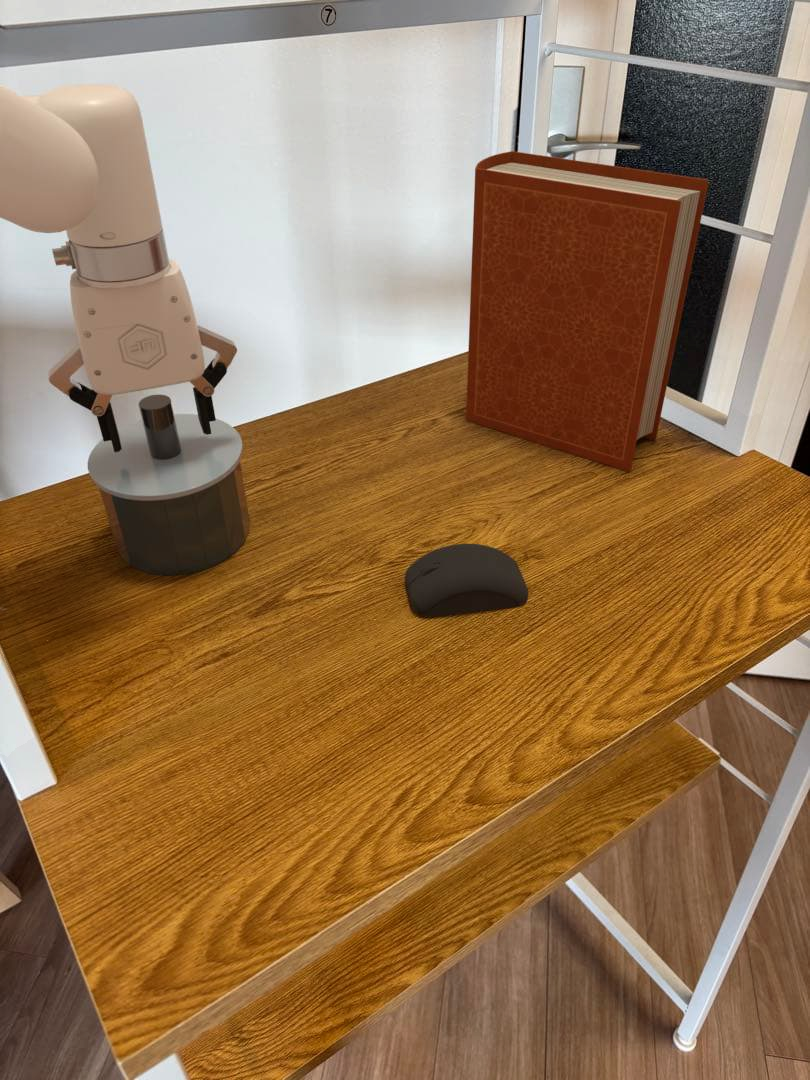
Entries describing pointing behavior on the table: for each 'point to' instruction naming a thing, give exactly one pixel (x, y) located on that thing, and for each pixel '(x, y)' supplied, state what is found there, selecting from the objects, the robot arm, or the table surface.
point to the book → (577, 299)
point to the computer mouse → (464, 581)
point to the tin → (181, 528)
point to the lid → (165, 454)
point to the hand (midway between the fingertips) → (161, 435)
